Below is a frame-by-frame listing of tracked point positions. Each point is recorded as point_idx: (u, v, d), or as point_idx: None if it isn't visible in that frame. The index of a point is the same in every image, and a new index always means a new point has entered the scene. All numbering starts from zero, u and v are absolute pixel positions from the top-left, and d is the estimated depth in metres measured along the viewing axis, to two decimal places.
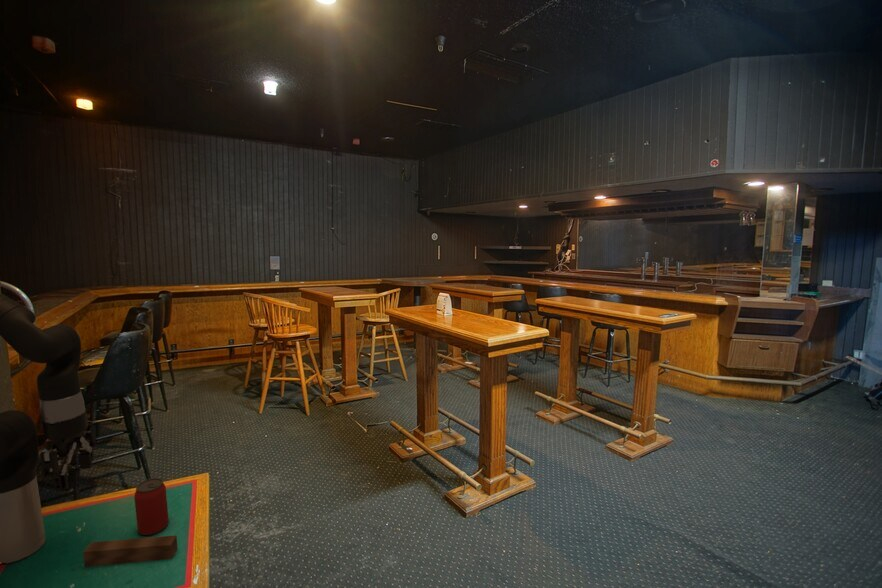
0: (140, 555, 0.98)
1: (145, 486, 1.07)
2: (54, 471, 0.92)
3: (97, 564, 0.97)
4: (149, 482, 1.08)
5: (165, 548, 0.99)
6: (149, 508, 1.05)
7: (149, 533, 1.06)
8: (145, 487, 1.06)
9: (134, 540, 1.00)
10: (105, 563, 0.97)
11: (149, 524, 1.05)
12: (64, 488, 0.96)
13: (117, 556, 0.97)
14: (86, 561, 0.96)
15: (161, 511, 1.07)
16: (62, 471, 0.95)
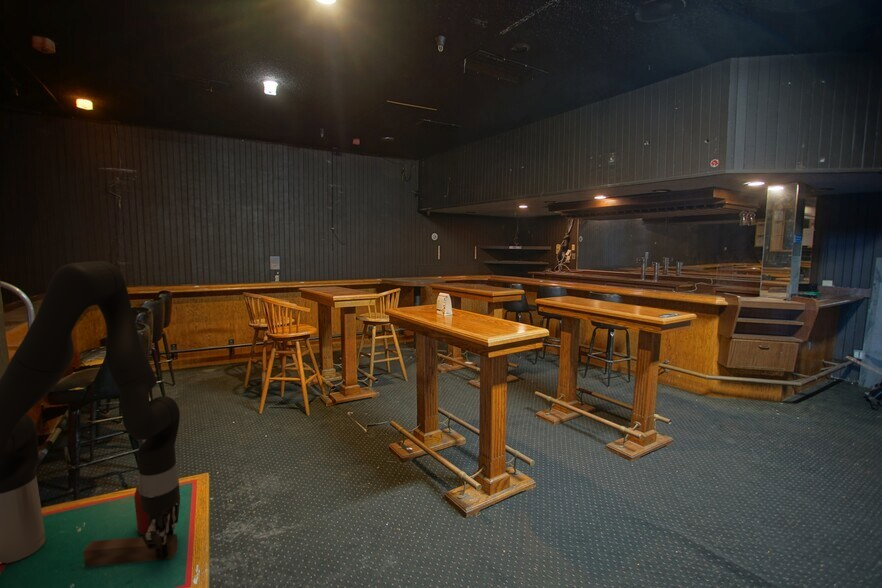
0: (140, 554, 0.98)
1: None
2: (158, 545, 0.95)
3: (97, 563, 0.97)
4: None
5: None
6: None
7: None
8: None
9: (134, 539, 1.00)
10: (105, 562, 0.97)
11: None
12: (164, 557, 0.98)
13: (117, 555, 0.97)
14: (86, 560, 0.96)
15: None
16: (164, 541, 0.97)
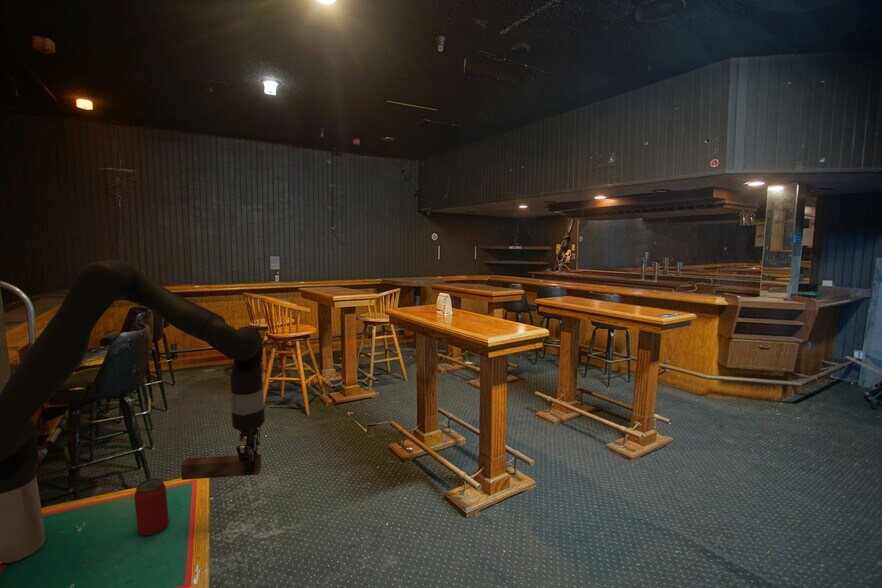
0: (230, 469, 1.08)
1: (145, 486, 1.07)
2: (249, 459, 1.05)
3: (192, 477, 1.07)
4: (149, 482, 1.08)
5: None
6: (149, 508, 1.05)
7: (149, 533, 1.06)
8: (146, 487, 1.06)
9: (224, 457, 1.10)
10: (200, 476, 1.07)
11: (149, 524, 1.05)
12: (252, 472, 1.09)
13: (210, 470, 1.07)
14: (183, 473, 1.06)
15: (161, 511, 1.07)
16: (252, 457, 1.08)
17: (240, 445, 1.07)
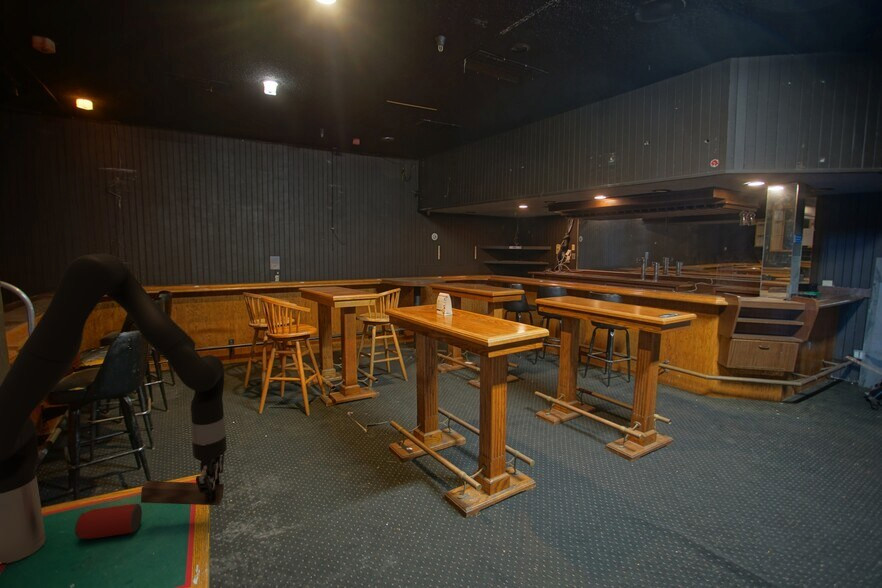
0: (191, 497, 1.08)
1: None
2: (209, 489, 1.05)
3: (152, 501, 1.06)
4: None
5: None
6: (95, 528, 1.03)
7: (128, 525, 1.04)
8: None
9: (186, 483, 1.09)
10: (159, 501, 1.07)
11: (116, 527, 1.04)
12: (213, 501, 1.08)
13: (170, 496, 1.07)
14: (143, 497, 1.06)
15: (109, 515, 1.04)
16: (213, 486, 1.07)
17: None
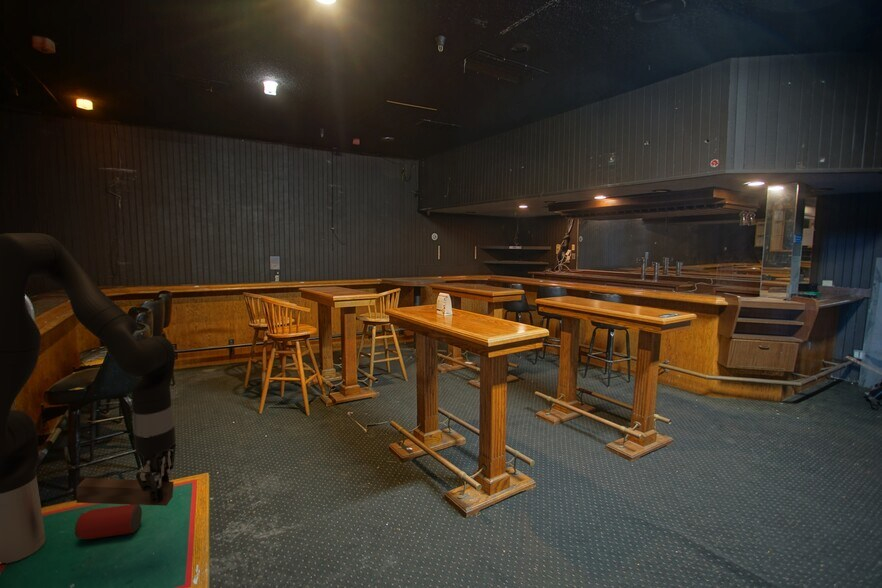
0: (135, 496, 0.96)
1: None
2: (153, 487, 0.92)
3: (89, 500, 0.94)
4: None
5: None
6: (95, 529, 1.02)
7: (128, 526, 1.04)
8: None
9: (130, 481, 0.97)
10: (98, 501, 0.94)
11: (116, 527, 1.04)
12: (159, 501, 0.96)
13: (111, 495, 0.95)
14: (79, 496, 0.94)
15: (108, 515, 1.04)
16: (159, 484, 0.95)
17: None
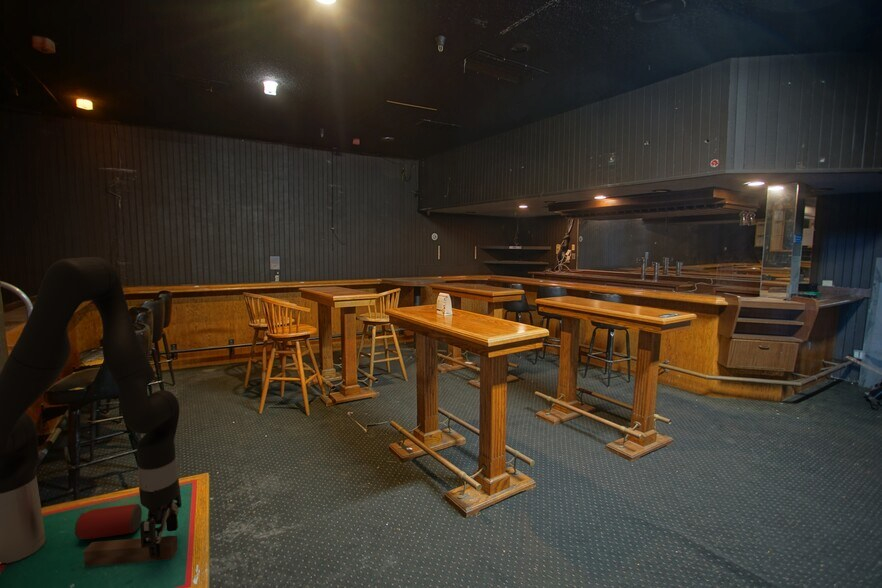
0: (140, 555, 0.98)
1: None
2: (152, 541, 0.92)
3: (97, 564, 0.97)
4: None
5: (165, 548, 0.99)
6: (95, 528, 1.02)
7: (128, 526, 1.04)
8: None
9: (134, 540, 1.00)
10: (106, 563, 0.97)
11: (116, 527, 1.04)
12: (158, 555, 0.96)
13: (117, 556, 0.97)
14: (86, 561, 0.96)
15: (108, 515, 1.04)
16: (158, 539, 0.95)
17: None
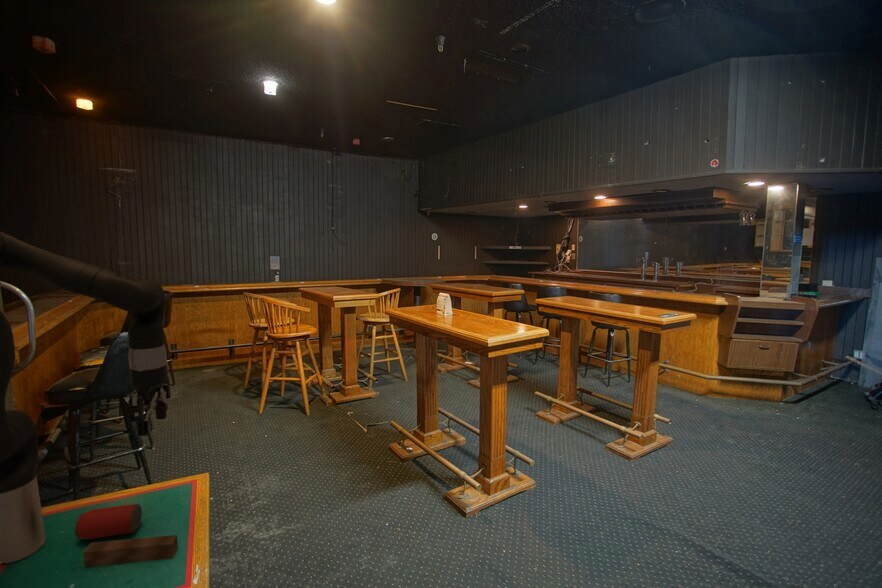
0: (141, 555, 0.98)
1: None
2: (140, 416, 0.98)
3: (97, 564, 0.97)
4: None
5: (166, 548, 0.99)
6: (95, 528, 1.02)
7: (128, 526, 1.04)
8: None
9: (134, 540, 1.00)
10: (105, 564, 0.97)
11: (116, 527, 1.04)
12: (146, 434, 1.01)
13: (117, 556, 0.97)
14: (86, 562, 0.96)
15: (108, 515, 1.04)
16: (146, 417, 1.00)
17: None
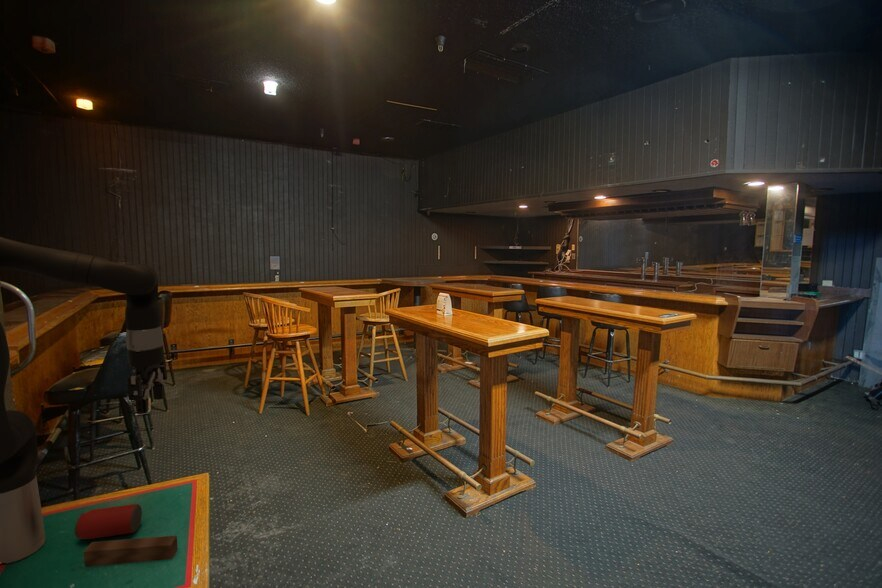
0: (140, 555, 0.98)
1: None
2: (139, 394, 1.02)
3: (97, 564, 0.97)
4: None
5: (165, 548, 0.99)
6: (95, 528, 1.02)
7: (128, 526, 1.04)
8: None
9: (134, 540, 1.00)
10: (105, 563, 0.97)
11: (116, 527, 1.04)
12: (144, 412, 1.05)
13: (117, 556, 0.97)
14: (86, 561, 0.96)
15: (108, 515, 1.04)
16: (144, 396, 1.04)
17: None
